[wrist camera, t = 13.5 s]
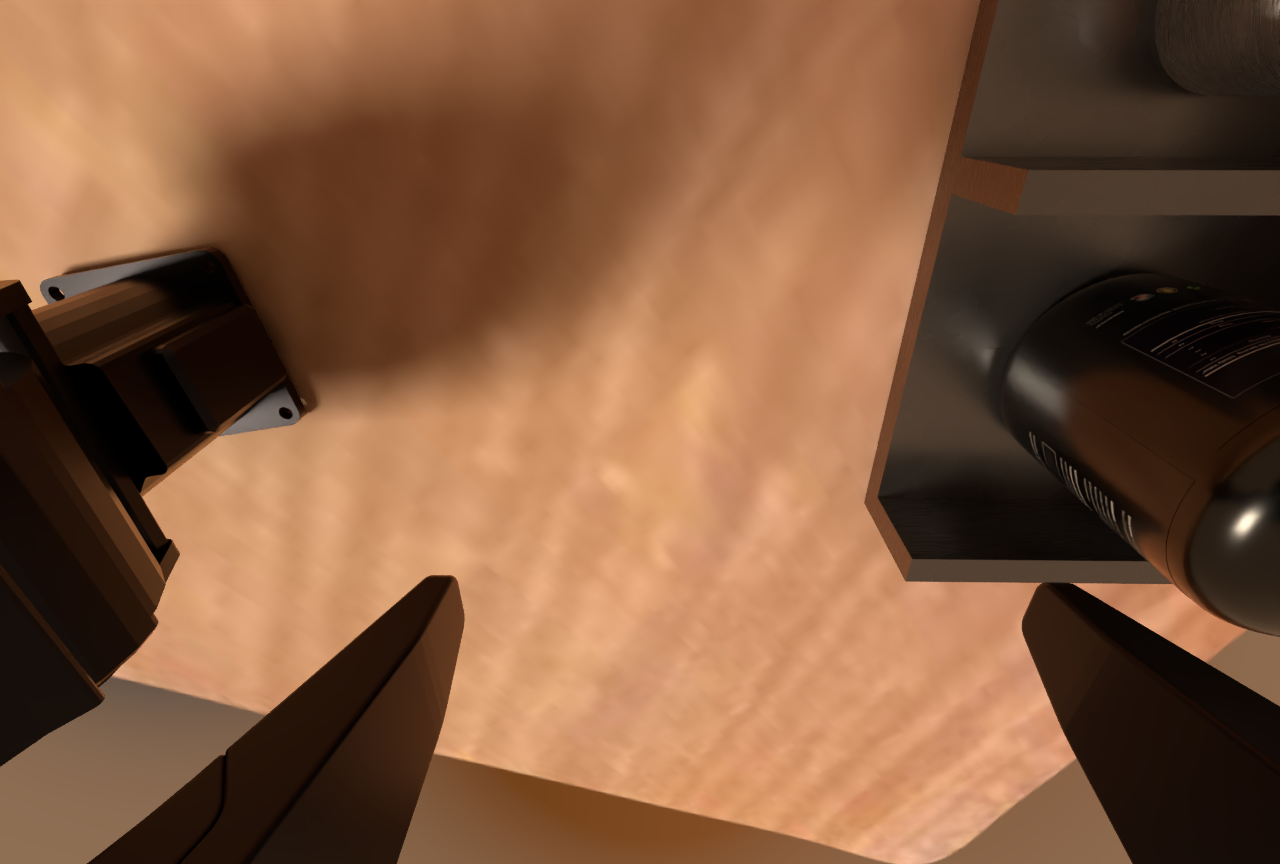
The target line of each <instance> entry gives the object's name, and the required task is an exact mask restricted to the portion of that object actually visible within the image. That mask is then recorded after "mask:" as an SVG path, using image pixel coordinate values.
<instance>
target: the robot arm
mask: <svg viewBox="0 0 1280 864" xmlns="http://www.w3.org/2000/svg"><path fill="white" fill-rule="evenodd" d="M207 258H208V259H209V260H211V261H212V262H213V264H214V266H215V270H214V269H212V268H210V266H209V265H208V264H207V260H206V259H207ZM59 289H60V290H61V291H62V292H63V293H64V295H65V296H64V295H63V294H62V293H61V292H60V290H59ZM40 291H41V293H42V295H43V297H44V298H45V300H46V301H47V303H48V305H45V306H43V307H40V308H37V309H34V310H31V309H30V307H29V305H28V304H29V303H31V302H32V301H31V299H30V297H29V295H28V294H27V292H26V290H25V289H24V287H23V285H22V284H21V282H20V280H5V281H0V766H2V765H3V764H5V763H6V762H8V761H9V760H11V759H12V758H13V757H15V756H16V755H18V754H19V753H21V752H22V751H24V750H25V749H26V748H28V747H29V746H31V745H32V744H34V743H35V742H37V741H38V740H39V739H41V738H42V737H44V736H45V735H47V734H48V733H50V732H52V731H54V730H56V729H57V728H59V727H61V726H63V725H65V724H66V723H68V722H70V721H72V720H74V719H75V718H77V717H79V716H81V715H83V714H85V713H86V712H88V711H90V710H92V709H93V708H95V707H97V706H98V705H99V704H101V702H102V701H103V700H104V698H105V695H104V694H103V693H102V692H101V690H100V689H99V688H98V687H100V686H101V685H102V684H103V683H104V682H106V681H107V680H108V679H109V678H110V677H111V676H112V675H113V674H114V673H115V672H116V671H117V669H118V668H119V667H120V666H121V665H122V664H124V663H125V662H126V661H127V660H128V659H129V658H130V657H131V656H133V655H134V654H135V653H136V652H137V651H138V649H139V648H140V647H141V646H142V645H143V643H144V642H145V641H146V640H147V639H148V637H149V636H150V635H151V634H152V632H153V631H154V630H155V628H156V627H157V624H158V620H157V618H156V616H155V615H154V612H155V610H156V609H157V606H158V604H159V601H160V598H161V596H162V593H163V590H164V587H165V585H166V584H165V583H166V581H167V579H168V577H169V575H170V573H171V571H172V569H173V567H174V565H175V563H176V561H177V559H178V557H179V555H180V553H179V551H178V549H177V548H176V546H175V544H174V543H173V541H172V540H171V539H166V537H165V535H164V534H163V532H162V530H161V528H160V527H159V525H158V523H157V522H156V520H155V518H154V517H153V515H152V513H151V512H150V510H149V508H148V507H147V505H146V503H145V501H144V500H143V498H142V496H144V495H145V494H146V493H147V492H149V491H150V490H151V489H152V488H154V487H155V486H156V485H157V484H159V483H160V482H161V481H162V480H164V479H165V478H166V477H168V476H169V475H170V474H171V473H173V472H174V471H175V470H176V469H178V468H179V467H180V466H181V465H183V464H184V463H185V462H186V461H188V460H189V459H190V458H192V457H193V456H194V455H195V454H197V453H198V452H199V451H200V450H202V449H203V448H204V447H205V446H207V445H208V444H209V443H210V442H212V441H213V440H214V439H216V438H217V437H218V436H224V435H231V434H237V433H243V432H250V431H256V430H263V429H269V428H275V427H282V426H288V425H293V424H296V423H297V422H298V421H299V420H300V419H301V418H302V417H303V416H304V414H305V409H304V406H303V404H302V402H301V400H300V398H299V396H298V394H297V392H296V390H295V388H294V387H293V385H292V383H291V381H290V379H289V377H288V375H287V372H286V369H285V367H284V366H283V364H282V362H281V360H280V358H279V356H278V354H277V352H276V350H275V348H274V346H273V344H272V342H271V340H270V338H269V336H268V334H267V332H266V330H265V328H264V327H263V325H262V323H261V321H260V319H259V317H258V315H257V313H256V311H255V310H254V309H253V307H252V305H251V303H250V301H249V299H248V297H247V295H246V293H245V291H244V289H243V287H242V285H241V283H240V281H239V279H238V278H237V276H236V274H235V272H234V270H233V268H232V266H231V264H230V262H229V260H228V259H227V257H226V256H225V254H223V253H222V252H221V251H220V250H218V249H215V248H213V247H206V248H201V249H195V250H190V251H185V252H180V253H174V254H169V255H164V256H159V257H154V258H148V259H143V260H138V261H133V262H128V263H122V264H117V265H112V266H107V267H101V268H96V269H91V270H86V271H81V272H75V273H70V274H65V275H60V276H56V277H52V278H49V279H46V280H44V281H42V283H41V285H40ZM284 407H286V408H288V409H290V410H291V411H292V414H290V413H288V412H287V411H286V410H285V408H284ZM463 629H464V609H463V605H462V600H461V595H460V590H459V585H458V581H457V579H456V578H455V577H454V576H451V575H431V576H428V577H426V578H425V579H424V580H422V581H421V582H420V583H419V584H418V585H417V586H415V587H414V588H413V589H412V590H411V591H410V592H408V593H407V594H406V595H405V596H404V597H403V598H402V599H400V600H399V601H398V602H397V603H396V604H395V605H393V606H392V607H391V608H390V609H389V610H388V611H387V612H385V613H384V614H383V615H382V616H381V617H380V618H378V619H377V620H376V621H375V622H374V623H373V624H371V625H370V626H369V627H368V628H367V629H366V630H365V631H363V632H362V633H361V634H360V635H359V636H358V637H356V638H355V639H354V640H353V641H352V642H351V643H349V644H348V645H347V646H346V647H345V648H344V649H343V650H341V651H340V652H339V653H338V654H337V655H336V656H334V657H333V658H332V659H331V660H330V661H329V662H327V663H326V664H325V665H324V666H323V667H322V668H321V669H319V670H318V671H317V672H316V673H315V674H314V675H312V676H311V677H310V678H309V679H308V680H307V681H306V682H304V683H303V684H302V685H301V686H300V687H299V688H297V689H296V690H295V691H294V692H293V693H292V694H290V695H289V696H288V697H287V698H286V699H285V700H284V701H282V702H281V703H280V704H279V705H278V706H277V707H275V708H274V709H273V710H272V711H271V712H270V713H268V714H267V715H266V716H265V717H264V718H263V719H262V720H260V721H259V722H258V723H257V724H256V725H255V726H253V727H252V728H251V729H250V730H249V731H248V732H247V733H245V734H244V735H243V736H242V737H241V738H240V739H238V740H237V741H236V742H235V743H234V744H233V745H232V746H230V747H229V748H228V749H227V751H226V754H225V755H220V756H218V757H217V758H216V759H215V760H214V761H213V762H212V763H210V764H209V765H208V766H207V767H206V768H205V769H203V770H202V771H201V772H200V773H199V774H198V775H196V776H195V777H194V778H193V779H192V780H191V781H190V782H188V783H187V784H186V785H185V786H184V787H182V788H181V789H180V790H179V791H177V792H176V793H175V794H174V795H173V796H171V797H170V798H169V799H168V800H167V801H166V802H164V803H163V804H162V805H161V806H159V807H158V808H157V809H156V810H155V811H154V812H152V813H151V814H150V815H149V816H147V817H146V818H145V819H144V820H142V821H141V822H140V823H139V824H137V825H136V826H135V827H133V828H132V829H131V830H130V831H128V832H127V833H126V834H125V835H123V836H122V837H121V838H119V839H118V840H117V841H116V842H114V843H113V844H112V845H110V846H109V847H108V848H107V849H105V850H104V851H103V852H102V853H100V854H99V855H98V856H96V857H95V858H94V859H93V860H91V861H90V862H89V863H87V864H397V861H398V858H399V855H400V852H401V849H402V846H403V843H404V840H405V837H406V834H407V831H408V828H409V825H410V822H411V819H412V816H413V813H414V810H415V807H416V804H417V801H418V798H419V795H420V792H421V789H422V786H423V783H424V780H425V777H426V774H427V771H428V768H429V765H430V762H431V759H432V756H433V753H434V750H435V747H436V744H437V741H438V738H439V734H440V731H441V728H442V724H443V721H444V717H445V712H446V708H447V704H448V699H449V694H450V689H451V685H452V680H453V675H454V671H455V666H456V661H457V657H458V652H459V647H460V643H461V638H462V633H463ZM1022 632H1023V636H1024V638H1025V641H1026V643H1027V646H1028V648H1029V651H1030V653H1031V656H1032V658H1033V660H1034V663H1035V665H1036V668H1037V670H1038V673H1039V675H1040V677H1041V680H1042V682H1043V685H1044V687H1045V690H1046V692H1047V695H1048V697H1049V699H1050V702H1051V704H1052V707H1053V709H1054V712H1055V714H1056V716H1057V719H1058V721H1059V723H1060V725H1061V728H1062V730H1063V732H1064V734H1065V736H1066V738H1067V740H1068V742H1069V744H1070V746H1071V748H1072V750H1073V752H1074V754H1075V756H1076V758H1077V759H1078V761H1079V763H1080V765H1081V767H1082V769H1083V771H1084V773H1085V775H1086V776H1087V778H1088V780H1089V782H1090V784H1091V786H1092V788H1093V790H1094V792H1095V793H1096V795H1097V797H1098V799H1099V801H1100V803H1101V805H1102V807H1103V809H1104V811H1105V812H1106V814H1107V816H1108V818H1109V820H1110V822H1111V824H1112V826H1113V828H1114V830H1115V831H1116V833H1117V835H1118V837H1119V839H1120V841H1121V843H1122V845H1123V847H1124V848H1125V850H1126V852H1127V854H1128V856H1129V858H1130V860H1131V862H1132V864H1280V706H1278V705H1276V704H1275V703H1273V702H1271V701H1270V700H1268V699H1266V698H1265V697H1263V696H1261V695H1259V694H1258V693H1256V692H1254V691H1253V690H1251V689H1249V688H1248V687H1246V686H1244V685H1243V684H1241V683H1239V682H1238V681H1236V680H1234V679H1233V678H1231V677H1229V676H1227V675H1226V674H1224V673H1222V672H1221V671H1219V670H1217V669H1216V668H1214V667H1212V666H1211V665H1209V664H1207V663H1206V662H1204V661H1202V660H1200V659H1199V658H1197V657H1195V656H1194V655H1192V654H1190V653H1189V652H1187V651H1185V650H1184V649H1182V648H1180V647H1179V646H1177V645H1175V644H1174V643H1172V642H1170V641H1168V640H1167V639H1165V638H1163V637H1162V636H1160V635H1158V634H1157V633H1155V632H1153V631H1152V630H1150V629H1148V628H1147V627H1145V626H1143V625H1141V624H1140V623H1138V622H1136V621H1135V620H1133V619H1131V618H1130V617H1128V616H1126V615H1125V614H1123V613H1121V612H1120V611H1118V610H1116V609H1115V608H1113V607H1111V606H1109V605H1108V604H1106V603H1104V602H1103V601H1101V600H1099V599H1098V598H1096V597H1094V596H1093V595H1091V594H1089V593H1088V592H1086V591H1084V590H1082V589H1081V588H1079V587H1077V586H1076V585H1074V584H1071V583H1062V582H1045V583H1042V584H1040V585H1039V586H1038V587H1037V588H1036V590H1035V593H1034V595H1033V597H1032V599H1031V601H1030V604H1029V606H1028V608H1027V610H1026V612H1025V615H1024V617H1023V620H1022Z"/></svg>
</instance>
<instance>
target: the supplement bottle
mask: <svg viewBox="0 0 1280 864" xmlns="http://www.w3.org/2000/svg"><path fill="white" fill-rule="evenodd" d="M1000 407H1001V412H1002V416H1003V419H1004V422H1005V424H1006V426H1007V428H1008V430H1009V432H1010V433H1011V435H1012V436H1013V437H1014V439H1015V440H1016V441H1017V442H1018V443H1019V444H1020V445H1021V446H1022V447H1023V448H1024V449H1025V450H1026V451H1027V452H1028V453H1029V454H1030V455H1031V456H1032V457H1033V458H1034V459H1035V460H1036V461H1037V462H1039V463H1040V464H1041V465H1042V466H1043V467H1044V468H1045V469H1046V470H1047V471H1049V472H1050V473H1051V474H1052V475H1053V476H1054V477H1055V478H1056V479H1057V480H1059V481H1060V482H1061V483H1062V484H1063V485H1064V486H1065V487H1066V488H1067V489H1068V490H1070V491H1071V492H1072V493H1073V494H1074V495H1075V496H1076V497H1077V498H1078V499H1080V500H1081V501H1082V502H1083V503H1084V504H1085V505H1086V506H1087V507H1088V508H1090V509H1091V510H1092V511H1093V512H1094V513H1095V514H1096V515H1097V516H1098V517H1099V518H1101V519H1102V520H1103V521H1104V522H1105V523H1106V524H1107V525H1108V526H1109V527H1111V528H1112V529H1113V530H1114V531H1115V532H1116V533H1117V534H1118V535H1119V536H1120V537H1122V538H1123V539H1124V540H1125V541H1126V542H1127V543H1128V544H1129V545H1130V546H1132V547H1133V548H1134V549H1135V550H1136V551H1137V552H1138V553H1139V554H1140V555H1142V556H1143V557H1144V558H1145V559H1146V560H1147V561H1148V562H1149V563H1150V564H1151V565H1153V566H1154V567H1155V568H1156V569H1157V570H1158V571H1159V572H1160V573H1161V574H1163V575H1164V576H1165V577H1166V578H1167V579H1168V580H1169V581H1170V582H1171V583H1173V584H1174V585H1175V586H1176V587H1177V588H1178V589H1179V590H1180V591H1182V592H1183V593H1184V594H1185V595H1186V596H1187V597H1189V598H1190V599H1191V600H1193V601H1194V602H1195V603H1196V604H1197V605H1199V606H1200V607H1201V608H1203V609H1204V610H1205V611H1207V612H1209V613H1210V614H1212V615H1214V616H1215V617H1217V618H1219V619H1221V620H1224V621H1226V622H1228V623H1230V624H1233V625H1235V626H1238V627H1241V628H1244V629H1247V630H1251V631H1254V632H1257V633H1262V634H1267V635H1271V636H1276V637H1280V309H1279V308H1276V307H1273V306H1270V305H1267V304H1263V303H1260V302H1257V301H1254V300H1251V299H1248V298H1244V297H1241V296H1238V295H1235V294H1232V293H1229V292H1225V291H1222V290H1219V289H1216V288H1213V287H1210V286H1206V285H1203V284H1200V283H1196V282H1192V281H1189V280H1185V279H1182V278H1179V277H1174V276H1169V275H1163V274H1154V273H1142V274H1130V275H1123V276H1118V277H1113V278H1110V279H1106V280H1103V281H1100V282H1097V283H1095V284H1092V285H1090V286H1087V287H1085V288H1083V289H1081V290H1079V291H1077V292H1075V293H1073V294H1071V295H1070V296H1068V297H1066V298H1065V299H1063V300H1062V301H1060V302H1059V303H1057V304H1056V305H1054V306H1053V307H1052V308H1051V309H1049V310H1048V311H1047V312H1046V313H1044V314H1043V315H1042V316H1041V317H1040V318H1039V319H1038V320H1037V321H1036V322H1035V323H1034V324H1033V325H1032V326H1031V327H1030V328H1029V329H1028V331H1027V332H1026V333H1025V334H1024V335H1023V337H1022V338H1021V340H1020V341H1019V342H1018V344H1017V345H1016V347H1015V349H1014V350H1013V352H1012V354H1011V356H1010V358H1009V360H1008V362H1007V365H1006V367H1005V370H1004V373H1003V377H1002V382H1001V387H1000Z"/></svg>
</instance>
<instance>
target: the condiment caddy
mask: <svg viewBox="0 0 1280 864" xmlns="http://www.w3.org/2000/svg"><path fill="white" fill-rule="evenodd" d="M1142 273H1154V274H1163V275H1169V276H1174V277H1179V278H1182V279H1185V280H1189V281H1192V282H1196V283H1200V284H1203V285H1206V286H1210V287H1213V288H1216V289H1219V290H1222V291H1225V292H1229V293H1232V294H1235V295H1238V296H1241V297H1244V298H1248V299H1251V300H1254V301H1257V302H1260V303H1263V304H1267V305H1270V306H1273V307H1276V308H1279V309H1280V0H981V3H980V7H979V11H978V16H977V20H976V24H975V29H974V33H973V37H972V42H971V46H970V50H969V55H968V59H967V63H966V67H965V72H964V76H963V80H962V85H961V89H960V93H959V98H958V102H957V106H956V111H955V115H954V119H953V123H952V128H951V132H950V136H949V141H948V145H947V149H946V154H945V158H944V162H943V166H942V171H941V175H940V179H939V184H938V188H937V192H936V197H935V201H934V205H933V210H932V214H931V218H930V222H929V227H928V231H927V235H926V240H925V244H924V248H923V253H922V257H921V261H920V266H919V270H918V274H917V278H916V283H915V287H914V291H913V296H912V300H911V304H910V309H909V313H908V317H907V322H906V326H905V330H904V334H903V339H902V343H901V347H900V352H899V356H898V360H897V365H896V369H895V373H894V378H893V382H892V386H891V390H890V395H889V399H888V403H887V408H886V412H885V416H884V421H883V425H882V429H881V433H880V438H879V442H878V446H877V451H876V455H875V459H874V464H873V468H872V472H871V477H870V481H869V485H868V489H867V494H866V498H865V502H864V503H865V505H866V507H867V509H868V511H869V513H870V515H871V516H872V518H873V520H874V522H875V524H876V526H877V528H878V530H879V532H880V534H881V535H882V537H883V539H884V541H885V543H886V545H887V547H888V549H889V551H890V553H891V554H892V556H893V558H894V560H895V562H896V564H897V566H898V568H899V570H900V572H901V574H902V575H903V577H904V579H905V581H920V582H1020V583H1045V582H1062V583H1120V584H1173V583H1171V582H1170V581H1169V580H1168V579H1167V578H1166V577H1165V576H1164V575H1163V574H1161V573H1160V572H1159V571H1158V570H1157V569H1156V568H1155V567H1154V566H1153V565H1151V564H1150V563H1149V562H1148V561H1147V560H1146V559H1145V558H1144V557H1143V556H1142V555H1140V554H1139V553H1138V552H1137V551H1136V550H1135V549H1134V548H1133V547H1132V546H1130V545H1129V544H1128V543H1127V542H1126V541H1125V540H1124V539H1123V538H1122V537H1120V536H1119V535H1118V534H1117V533H1116V532H1115V531H1114V530H1113V529H1112V528H1111V527H1109V526H1108V525H1107V524H1106V523H1105V522H1104V521H1103V520H1102V519H1101V518H1099V517H1098V516H1097V515H1096V514H1095V513H1094V512H1093V511H1092V510H1091V509H1090V508H1088V507H1087V506H1086V505H1085V504H1084V503H1083V502H1082V501H1081V500H1080V499H1078V498H1077V497H1076V496H1075V495H1074V494H1073V493H1072V492H1071V491H1070V490H1068V489H1067V488H1066V487H1065V486H1064V485H1063V484H1062V483H1061V482H1060V481H1059V480H1057V479H1056V478H1055V477H1054V476H1053V475H1052V474H1051V473H1050V472H1049V471H1047V470H1046V469H1045V468H1044V467H1043V466H1042V465H1041V464H1040V463H1039V462H1037V461H1036V460H1035V459H1034V458H1033V457H1032V456H1031V455H1030V454H1029V453H1028V452H1027V451H1026V450H1025V449H1024V448H1023V447H1022V446H1021V445H1020V444H1019V443H1018V442H1017V441H1016V440H1015V439H1014V437H1013V436H1012V435H1011V433H1010V432H1009V430H1008V428H1007V426H1006V424H1005V422H1004V419H1003V416H1002V412H1001V407H1000V387H1001V382H1002V377H1003V373H1004V370H1005V367H1006V365H1007V362H1008V360H1009V358H1010V356H1011V354H1012V352H1013V350H1014V349H1015V347H1016V345H1017V344H1018V342H1019V341H1020V340H1021V338H1022V337H1023V335H1024V334H1025V333H1026V332H1027V331H1028V329H1029V328H1030V327H1031V326H1032V325H1033V324H1034V323H1035V322H1036V321H1037V320H1038V319H1039V318H1040V317H1041V316H1042V315H1043V314H1044V313H1046V312H1047V311H1048V310H1049V309H1051V308H1052V307H1053V306H1054V305H1056V304H1057V303H1059V302H1060V301H1062V300H1063V299H1065V298H1066V297H1068V296H1070V295H1071V294H1073V293H1075V292H1077V291H1079V290H1081V289H1083V288H1085V287H1087V286H1090V285H1092V284H1095V283H1097V282H1100V281H1103V280H1106V279H1110V278H1113V277H1118V276H1123V275H1130V274H1142Z"/></svg>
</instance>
